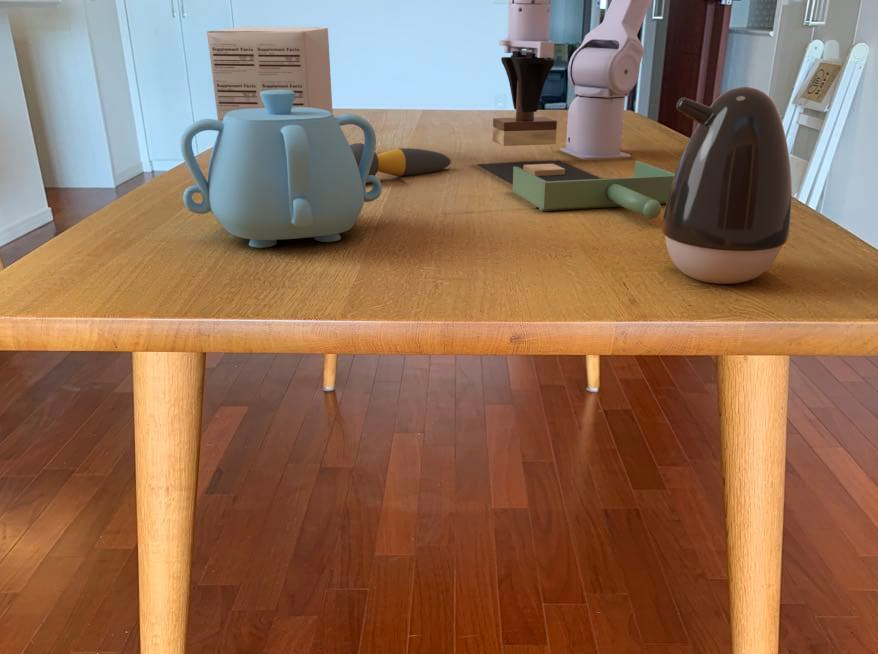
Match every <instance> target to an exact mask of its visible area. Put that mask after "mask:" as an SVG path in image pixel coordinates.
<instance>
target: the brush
mask: <svg viewBox="0 0 878 654" xmlns="http://www.w3.org/2000/svg"><path fill="white" fill-rule="evenodd" d="M557 127H558V120H555V119H552V118H549V117H546V116H535V112H522V111H521V106H520V95H519V83H518V80H517V99H516V110H515V117H494V118H492V142H493V143H496V144H499V145H500V146H503V147H513V146H514V147H515V146H539V145H540V146H542V145H556V144H557V129H558V128H557Z"/></svg>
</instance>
